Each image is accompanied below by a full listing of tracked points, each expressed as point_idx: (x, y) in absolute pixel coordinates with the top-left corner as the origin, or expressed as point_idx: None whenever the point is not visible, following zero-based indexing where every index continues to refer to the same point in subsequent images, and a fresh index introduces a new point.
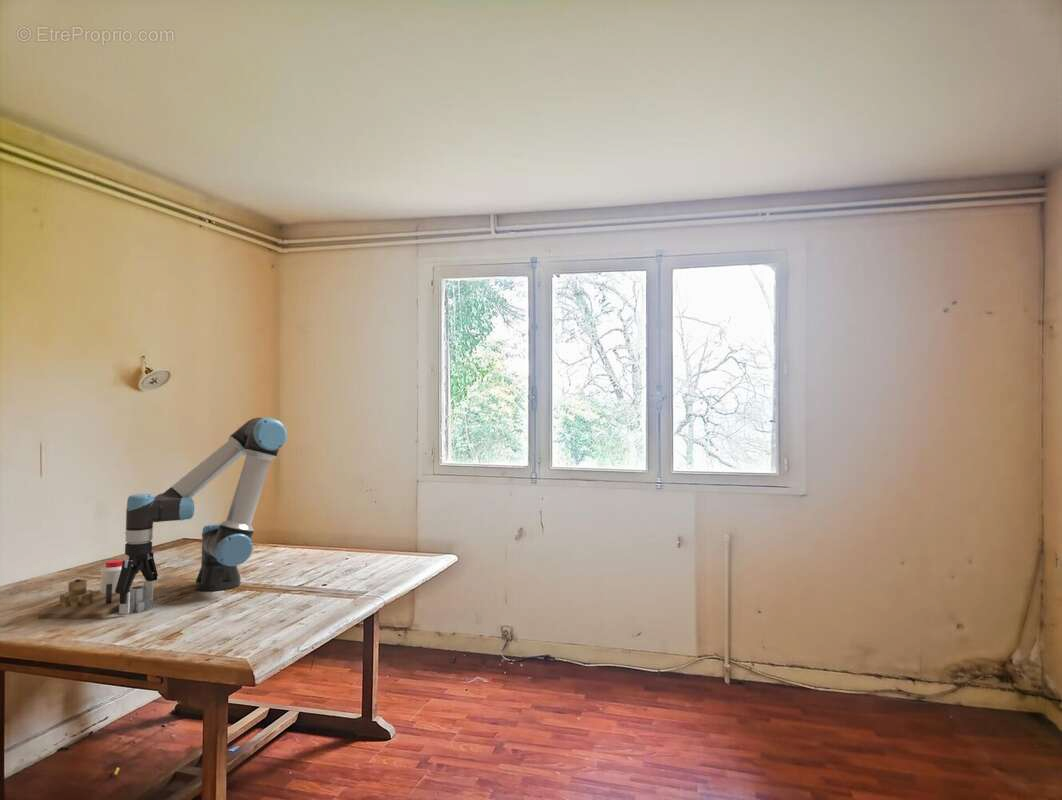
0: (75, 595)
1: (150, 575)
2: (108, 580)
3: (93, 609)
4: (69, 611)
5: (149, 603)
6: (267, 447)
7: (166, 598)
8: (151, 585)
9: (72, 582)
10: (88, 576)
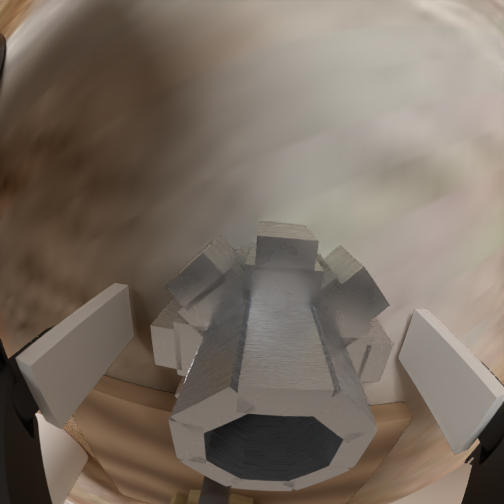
0: None
1: (5, 434)
2: (64, 482)
3: None
4: (332, 497)
5: (307, 234)
6: None
7: (51, 228)
8: (57, 349)
9: None
10: None
